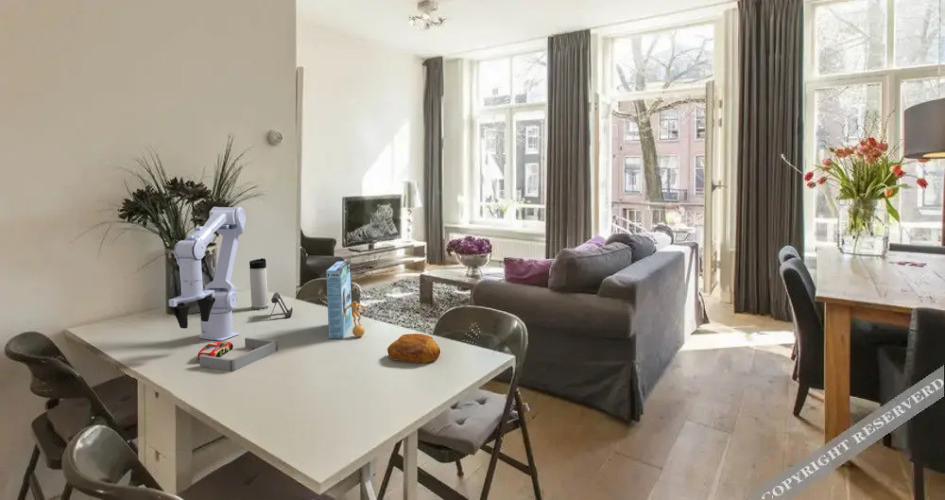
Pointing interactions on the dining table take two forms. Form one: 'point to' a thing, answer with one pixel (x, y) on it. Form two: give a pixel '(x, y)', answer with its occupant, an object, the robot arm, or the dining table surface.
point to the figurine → (358, 329)
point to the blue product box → (339, 299)
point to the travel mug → (258, 284)
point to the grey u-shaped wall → (260, 351)
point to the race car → (216, 349)
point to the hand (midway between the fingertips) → (194, 324)
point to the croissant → (414, 348)
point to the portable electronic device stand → (275, 300)
